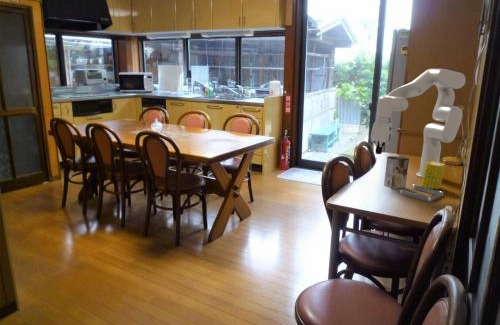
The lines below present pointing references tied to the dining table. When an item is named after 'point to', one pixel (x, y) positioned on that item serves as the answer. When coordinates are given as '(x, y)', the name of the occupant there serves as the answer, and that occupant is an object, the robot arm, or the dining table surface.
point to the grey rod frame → (421, 197)
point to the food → (433, 175)
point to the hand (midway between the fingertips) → (378, 153)
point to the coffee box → (396, 171)
